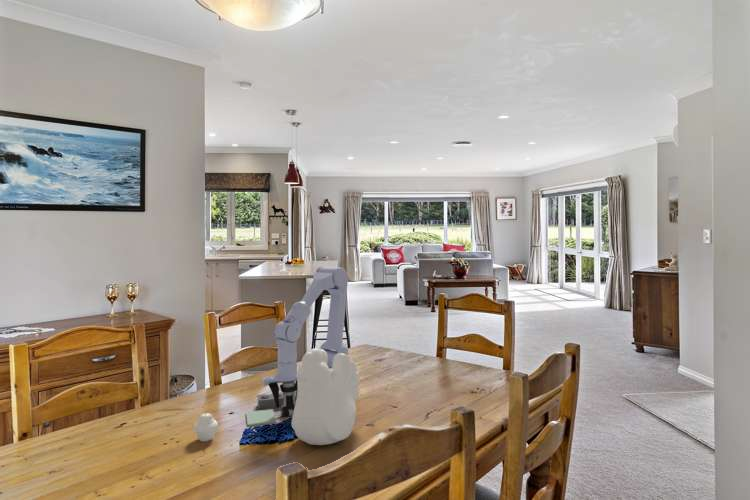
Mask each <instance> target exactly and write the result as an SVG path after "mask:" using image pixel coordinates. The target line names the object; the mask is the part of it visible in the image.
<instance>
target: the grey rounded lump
mask: <svg viewBox="0 0 750 500" xmlns="http://www.w3.org/2000/svg"><path fill="white" fill-rule="evenodd" d="M218 427H219V423H218V421H217V420H216V419H215V418H214V416H213V414H211V413H210V412H209V413H208V412H207V413H206V412H205V413H202V414H200V416H199V417H198V420H197V421H196V422H195V423H194V426H193V430H194V433H195V435H196V436H197V438H198V440H199V441H201V442H208V441H211V440H213V438H214V436H215V434H216V433H217V432H216V431H217V430H218Z"/></svg>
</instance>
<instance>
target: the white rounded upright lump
mask: <svg viewBox="0 0 750 500" xmlns="http://www.w3.org/2000/svg"><path fill="white" fill-rule="evenodd" d="M327 361H328V355H327V352H326V351H325V350H323V349H321V350H320V348H317V347H315V348H311V349H310V350H308V352H306V353H304V354H303V356H302V359H301V364H299V367H298V368H297V372H298V374H297V384H298V390H297V399H296V404H295V408H294V411H293V413H294V414H293V415H292V416H291V417H292V418H291V428H292V429H293V430H294V434H295V436H296V437H297V438H298V439H299V440H301V441H303V442H305V443H306V444H308V445H311V446H312V445H313V446H314V445H315V446H316V445H317V446H325V445H331V444H334V443H339V442H340V441H343V440H345V439H347V438H348V437H349V436H350V435H351V433H352V430H353V428H354V426H355V421H356V412H357V407H356V402H357V400H358V397H359V392H360V391H359V390H360V388H359V385H360V374H359V373H358V372H357V371H358V368H357V366H356V362H355V361H354V360H352V359H351V357H350V356H349V354H348V355H346V354H343V353H338V354H336V355H335V356H334V359H333V364H332V368H330V369H329V367H328V365H327Z"/></svg>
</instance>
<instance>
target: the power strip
mask: <svg viewBox="0 0 750 500" xmlns="http://www.w3.org/2000/svg"><path fill="white" fill-rule="evenodd" d="M295 402H296V391H295ZM282 406H283V392H279V408H278V409H281V407H282ZM257 407H258V411H259V410H268V409H273V410H274V409H277V408H276V406H275V400H274V397H273V394H272V393H269V394H260V395H257Z"/></svg>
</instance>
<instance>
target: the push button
mask: <svg viewBox="0 0 750 500" xmlns="http://www.w3.org/2000/svg"><path fill="white" fill-rule="evenodd" d="M297 386H298V384H297V383H296V381H292V382H284V383H280V385H279V389H280V391H281V392H280V393H283V406H282V407H281V408H280V409H281V410H279V411H276V413H277V414H276V417H281V416H283V418H285V417H290V416H291V417H292V416H293V414H294V413H293V411H294V408H295V404H296V402H295V392H296V390H297Z"/></svg>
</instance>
